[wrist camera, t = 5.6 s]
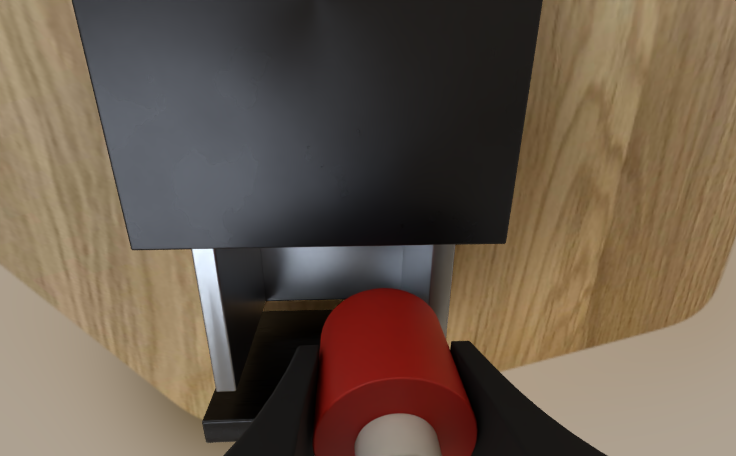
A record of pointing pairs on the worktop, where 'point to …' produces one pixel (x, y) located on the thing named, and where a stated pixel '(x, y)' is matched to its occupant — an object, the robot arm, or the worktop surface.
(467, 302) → the worktop surface
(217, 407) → the drawer
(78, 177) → the worktop surface
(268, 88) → the cabinet
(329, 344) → the bottle
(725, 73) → the worktop surface
